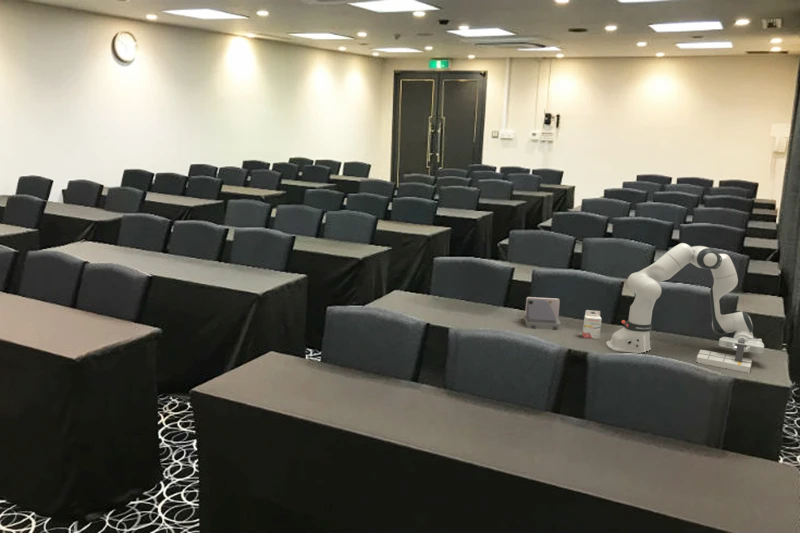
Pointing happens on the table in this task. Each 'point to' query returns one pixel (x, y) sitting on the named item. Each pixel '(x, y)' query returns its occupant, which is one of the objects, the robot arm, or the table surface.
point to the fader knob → (740, 350)
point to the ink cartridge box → (592, 324)
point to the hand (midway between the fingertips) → (740, 349)
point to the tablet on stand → (542, 313)
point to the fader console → (724, 361)
